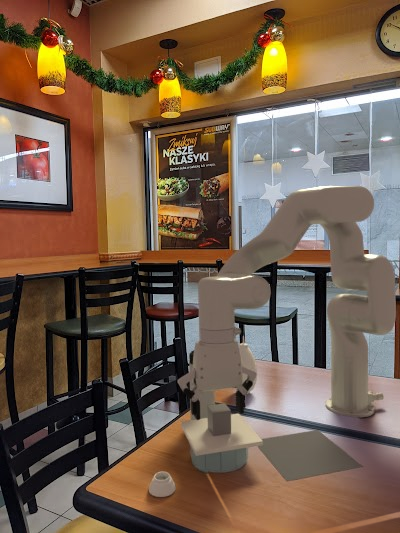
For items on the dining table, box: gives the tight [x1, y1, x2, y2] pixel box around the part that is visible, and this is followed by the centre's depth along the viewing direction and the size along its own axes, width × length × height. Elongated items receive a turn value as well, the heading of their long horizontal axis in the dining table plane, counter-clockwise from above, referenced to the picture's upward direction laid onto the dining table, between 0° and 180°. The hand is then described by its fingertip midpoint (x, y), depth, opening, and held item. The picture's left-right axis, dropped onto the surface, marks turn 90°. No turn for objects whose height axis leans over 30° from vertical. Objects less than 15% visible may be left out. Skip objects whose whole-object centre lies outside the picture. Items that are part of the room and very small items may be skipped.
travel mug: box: [188, 350, 216, 420], centre depth 104 cm, size 6×7×20 cm
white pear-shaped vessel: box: [234, 335, 258, 394], centre depth 126 cm, size 8×8×18 cm
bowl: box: [189, 444, 249, 475], centre depth 88 cm, size 12×12×6 cm
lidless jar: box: [148, 471, 176, 498], centre depth 78 cm, size 5×3×5 cm
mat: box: [257, 429, 364, 482], centre depth 89 cm, size 17×17×1 cm
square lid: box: [179, 402, 263, 456], centre depth 88 cm, size 14×14×6 cm
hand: (218, 414), depth 88 cm, fingers open, 9 cm apart
